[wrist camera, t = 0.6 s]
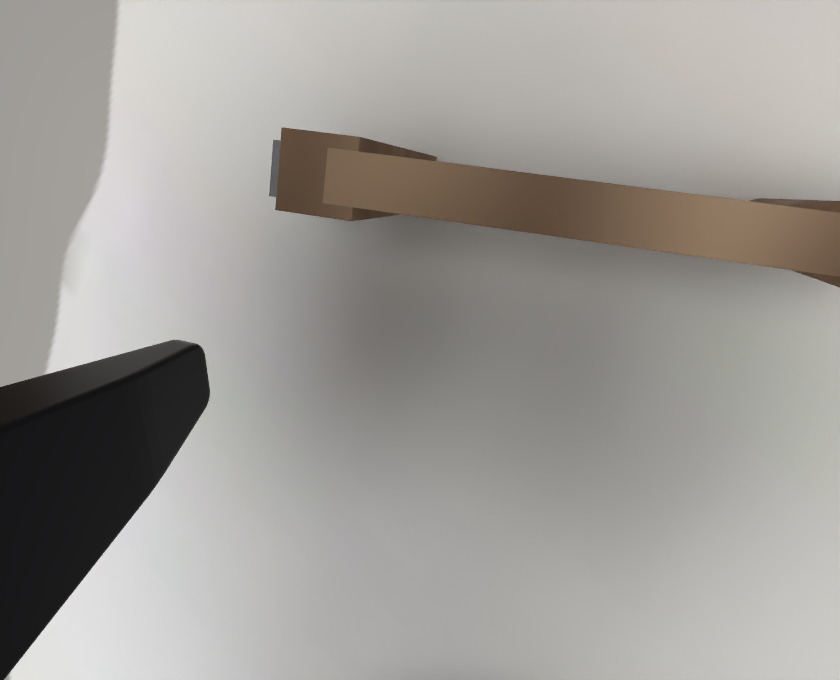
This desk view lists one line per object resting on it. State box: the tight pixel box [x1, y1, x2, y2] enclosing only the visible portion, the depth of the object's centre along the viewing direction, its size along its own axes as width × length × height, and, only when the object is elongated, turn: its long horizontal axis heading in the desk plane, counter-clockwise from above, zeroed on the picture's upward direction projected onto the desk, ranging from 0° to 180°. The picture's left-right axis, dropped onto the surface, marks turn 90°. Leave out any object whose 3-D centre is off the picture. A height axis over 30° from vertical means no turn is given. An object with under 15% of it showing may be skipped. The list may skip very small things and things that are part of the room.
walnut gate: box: [275, 128, 840, 287], centre depth 19 cm, size 13×2×9 cm, turn 83°
